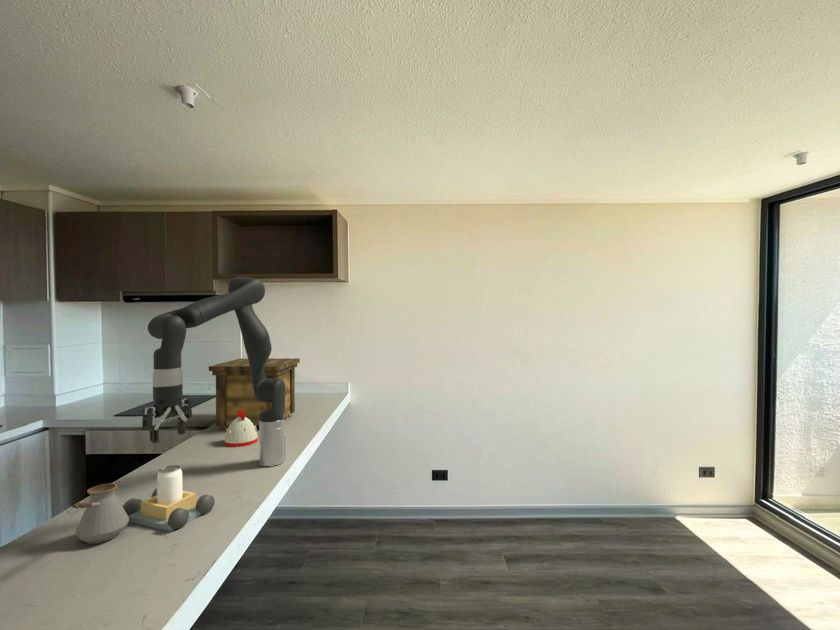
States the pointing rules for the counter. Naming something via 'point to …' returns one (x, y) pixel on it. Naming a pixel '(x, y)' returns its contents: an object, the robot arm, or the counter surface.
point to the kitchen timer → (241, 432)
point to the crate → (249, 389)
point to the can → (169, 485)
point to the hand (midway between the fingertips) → (168, 438)
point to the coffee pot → (101, 515)
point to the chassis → (168, 511)
